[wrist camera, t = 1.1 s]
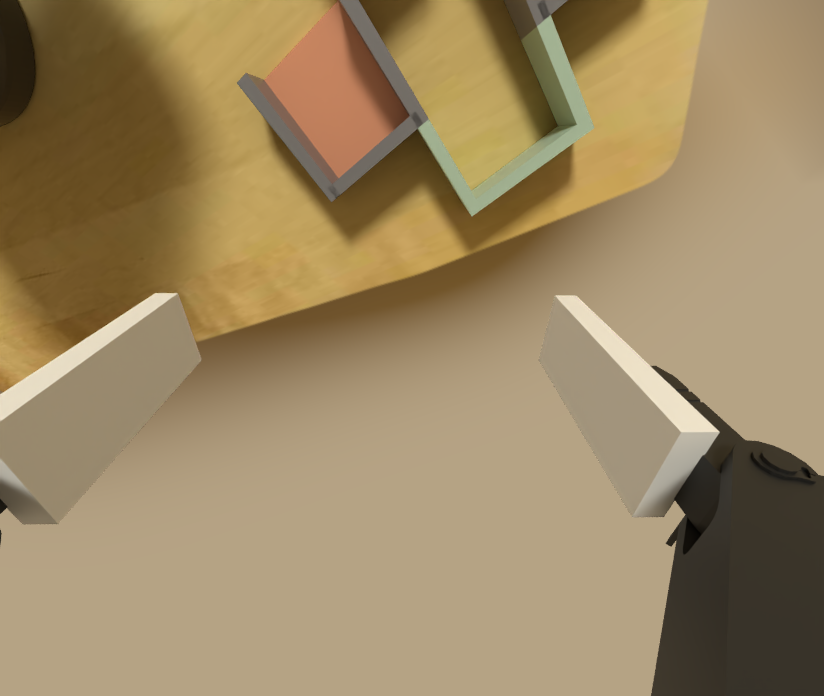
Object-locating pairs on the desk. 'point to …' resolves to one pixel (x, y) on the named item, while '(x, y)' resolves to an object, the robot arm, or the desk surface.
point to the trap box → (398, 102)
